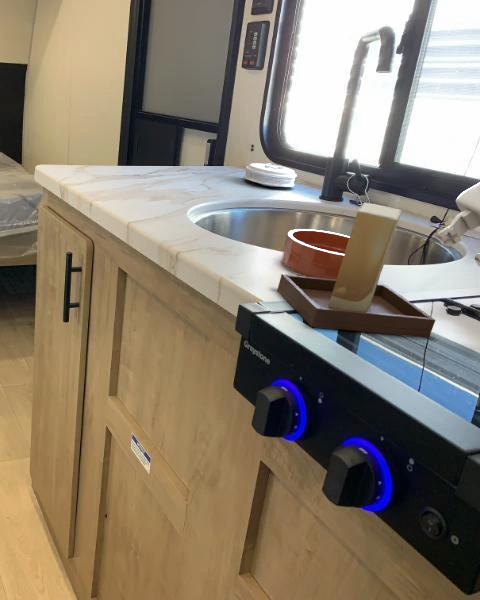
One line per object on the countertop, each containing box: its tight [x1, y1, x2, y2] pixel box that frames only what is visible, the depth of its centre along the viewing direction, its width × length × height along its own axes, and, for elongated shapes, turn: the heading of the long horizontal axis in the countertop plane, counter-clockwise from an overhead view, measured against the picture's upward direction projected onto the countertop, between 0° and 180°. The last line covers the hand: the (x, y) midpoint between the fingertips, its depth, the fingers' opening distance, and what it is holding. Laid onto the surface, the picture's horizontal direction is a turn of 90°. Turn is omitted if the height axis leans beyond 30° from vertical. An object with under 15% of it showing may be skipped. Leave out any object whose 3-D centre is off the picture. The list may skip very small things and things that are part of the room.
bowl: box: [281, 228, 350, 280], centre depth 88 cm, size 13×13×4 cm
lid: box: [243, 162, 298, 188], centre depth 152 cm, size 13×13×5 cm
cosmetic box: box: [328, 202, 402, 312], centre depth 71 cm, size 6×4×12 cm
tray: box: [277, 273, 436, 339], centre depth 73 cm, size 14×11×2 cm
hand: (459, 252), depth 69 cm, fingers open, 8 cm apart
